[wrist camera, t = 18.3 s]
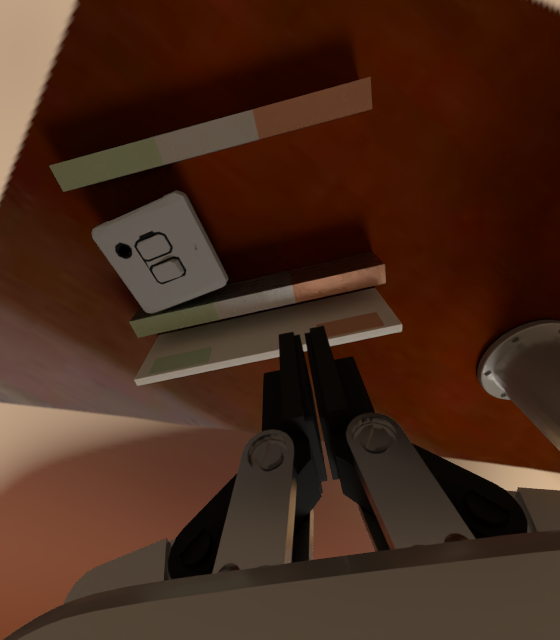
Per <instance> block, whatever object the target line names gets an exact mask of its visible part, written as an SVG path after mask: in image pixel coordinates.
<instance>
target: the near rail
mask: <svg viewBox="0 0 560 640" xmlns="http://www.w3.org/2000/svg"><path fill="white" fill-rule="evenodd" d="M371 109H372V96H371V79H370V77H368V78H364V79H360V80H357V81H353V82H350V83H346V84H342V85H339V86H335V87H332V88H328V89H324V90H321V91H317V92H314V93H310V94H306V95H303V96H299V97H295V98H292V99H288V100H285V101H281V102H277V103H274V104H270V105H267V106H263V107H259V108H256V109H252V110H249V111H245V112H241V113H238V114H234V115H231V116H227V117H223V118H220V119H216V120H212V121H209V122H205V123H202V124H198V125H194V126H191V127H187V128H184V129H180V130H176V131H173V132H169V133H166V134H162V135H158V136H155V137H151V138H148V139H144V140H140V141H137V142H133V143H129V144H126V145H122V146H119V147H115V148H111V149H108V150H104V151H101V152H97V153H93V154H90V155H86V156H83V157H79V158H75V159H72V160H68V161H65V162H61V163H57V164H54V165H50V166H49V167H50V168H51V170H52V172H53V174H54V176H55V177H56V179H57V181H58V183H59V185H60V186H61V188H62V190H63V192H65V191H69V190H73V189H77V188H81V187H85V186H89V185H93V184H96V183H100V182H104V181H108V180H111V179H115V178H119V177H123V176H126V175H130V174H134V173H138V172H141V171H145V170H149V169H152V168H156V167H160V166H164V165H167V164H171V163H175V162H179V161H182V160H186V159H190V158H193V157H197V156H201V155H205V154H208V153H212V152H216V151H220V150H223V149H227V148H231V147H235V146H238V145H242V144H246V143H249V142H253V141H257V140H261V139H264V138H268V137H272V136H276V135H279V134H283V133H287V132H291V131H294V130H298V129H302V128H305V127H309V126H313V125H317V124H320V123H324V122H328V121H332V120H335V119H339V118H343V117H346V116H350V115H354V114H358V113H361V112H365V111H368V110H371Z"/></svg>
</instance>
